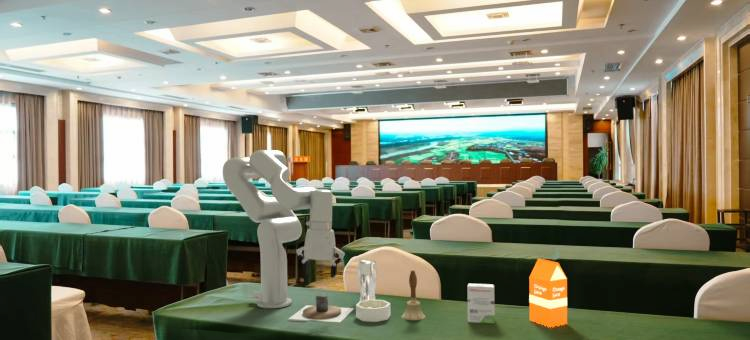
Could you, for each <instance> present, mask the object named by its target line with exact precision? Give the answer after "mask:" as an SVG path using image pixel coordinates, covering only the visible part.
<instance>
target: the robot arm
mask: <svg viewBox="0 0 750 340" xmlns="http://www.w3.org/2000/svg"><path fill="white" fill-rule="evenodd" d="M287 162H288V161H287V157H286V155H285V154H284V153H283V152H282V151H280V150H278V149H259V150H255V151H254V152H252V154H251V155H250V156H239V157H232V158H230V159H227V160H226V161H225V162H224V163H223V166H222V178H223V181H224V184H225V186H226V187H227V189H228V190H229V191H230V192H231V194H232V195H233V196H234V197H235V198H236V200H237V201H238V202H239V204H240V206H241V207H242V209H243V210H244V212H245V213H246V214H247V216H248V218H249V219H250V220H251V221H252V222H254V223H256V224H257V223H260V224H258V227H257V229H256V230H257V231H256V232H257V234H256V235H257V239H258V244H259V251H260V291H252V293H251V298H252V299H258V300H257V301H256V306H257V307H259V308H262V309H281V308H285V307H288V306H290V305H292V303H293V300H292V298H290V297H289V296H288V258H287V252H286V249H285V247H284V246H283V244H284V243H290V242H293V241H296V240H299V238H300V237H301V235H302V232H303V227H302V223H301V221H300V220H299V218H298V216H297V215H296V213H294V211H300V210H309V221H306V222H305V225H306V226H308V229H307V231H306V233H305V239H304V246H301V247H299V248H298V249H295V252H296V254H297V256H298V259H299V261H301V263H302V272H303V275H304V276H307V275H308V274H309V273H310V260H313V261H314V260H315V261H329V262H330V263H331V266H330V278H332V279H333V278H335V277H336V275H337V273H338V264H339V263H340V262H342V261H343V258H344V256H345V254H346V253H345V251H342V250H341V249H339V248H338V247H336V237H335V231H334V229H332V226H333V196H334V195H333V192H332V191H331V190H330V189H325V188H324V189H321V188H316V187H312V186H311V187H309V186H308V187H294V188H293V187H291V186H290V185H288V181H289V179H290V176H291V172H290V170H289V167H287V164H288V163H287ZM262 178H263V179H264V180H265V181H266V182H267V183H268V184H270V191H271V193H272V196H264V195H263V194H262V193H261V192H260V190H259V188H258V187H257V186H256V185H254V183H252V182H250V181H249V179H250V180H251V179H262ZM336 254H338V258H336Z"/></svg>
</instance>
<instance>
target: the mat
mask: <svg viewBox="0 0 750 340" xmlns="http://www.w3.org/2000/svg"><path fill="white" fill-rule="evenodd" d="M312 306H313V305H307V304H306V305H305V306H304V307H302V308H301V309H300V310H298V311H297V312H295V313H294V314H293V315H291V316H290V317H289V318H288V320H287V321H289V322H290V321H293V322H303V323H304V322H305V323H306V322H308V321H313V322H314V321H315V322H316V321H317V322H328V323H329V322H330V323H341V322H342V321H344V319H345V318H347V316H348V315H349V314H350V313H351V312H352V311H353V310H355V307H354V308H353V307H339V306H338V307H339V308H341V314H340V315H339V316H337V317H334V318H329V319H311V318H307V317H305V316H303V310H304V309H306V308H308V307H312Z"/></svg>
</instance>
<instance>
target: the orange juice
mask: <svg viewBox="0 0 750 340" xmlns="http://www.w3.org/2000/svg"><path fill="white" fill-rule="evenodd" d="M528 279H529V286H528V287H529V294H528V295H529V296H528V297H529V298H528V303H529V321H530V322H533V323H535V322H536V323H535V324H538V325H540V324H541V325H540V326H543V325H544V326H543V327H546V326H547V327H546V328H549V327H550V328H549V329H552V328H556V327H555V326H557V327H561V326H565V324H566V325H568V277H567V276H566V274H565V272H564V271H563V269H562V267H561V265H560V263H559V262H557V261H552V260H548V259H543V258H539V257H538V258H537V260H536V261H535V265H534V267H533V269H532V271H531V273H530V275H529V277H528ZM560 325H561V326H560ZM551 327H552V328H551Z"/></svg>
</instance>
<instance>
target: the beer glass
mask: <svg viewBox="0 0 750 340" xmlns="http://www.w3.org/2000/svg"><path fill="white" fill-rule="evenodd" d="M377 267H378V266H377V261H375V260H374V259H373V260H369V259H367V260H363V259H362V260H359V261H358V268H357V276H358V277H357V278H358V284H359V289H360V297H359V301H364V300H370V299H374V300H377V299H376V292H375V291H376V284H377V279H378V278H377V276H378V271H377V270H378V269H377Z"/></svg>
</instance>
